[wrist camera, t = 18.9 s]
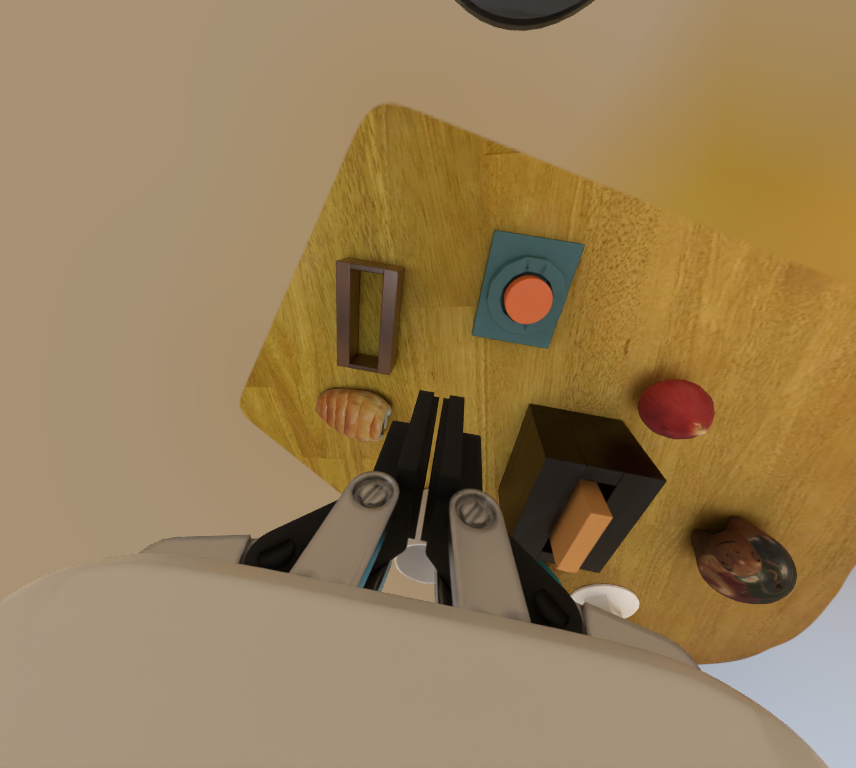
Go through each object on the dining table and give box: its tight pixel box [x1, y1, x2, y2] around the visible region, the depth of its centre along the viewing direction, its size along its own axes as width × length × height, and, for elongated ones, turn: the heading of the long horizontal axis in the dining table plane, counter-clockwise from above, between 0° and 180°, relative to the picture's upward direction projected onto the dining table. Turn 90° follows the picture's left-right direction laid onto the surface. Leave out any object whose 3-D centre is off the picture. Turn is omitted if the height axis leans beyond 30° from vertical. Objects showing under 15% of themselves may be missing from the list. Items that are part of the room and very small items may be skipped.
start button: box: [504, 275, 553, 324], centre depth 28 cm, size 4×4×2 cm
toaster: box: [498, 404, 666, 573], centre depth 36 cm, size 15×11×10 cm
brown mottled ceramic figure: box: [691, 517, 797, 604], centre depth 39 cm, size 10×15×8 cm, turn 48°
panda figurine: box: [570, 584, 639, 619], centre depth 47 cm, size 12×11×15 cm
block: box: [472, 230, 585, 348], centre depth 29 cm, size 10×8×3 cm
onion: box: [638, 379, 715, 439], centre depth 30 cm, size 6×6×8 cm
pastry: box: [315, 389, 392, 442], centre depth 38 cm, size 9×7×4 cm
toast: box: [549, 479, 613, 573], centre depth 34 cm, size 9×2×10 cm, turn 172°
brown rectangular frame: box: [336, 257, 405, 375], centre depth 32 cm, size 11×6×3 cm, turn 172°
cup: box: [395, 489, 435, 584], centre depth 42 cm, size 8×8×10 cm
